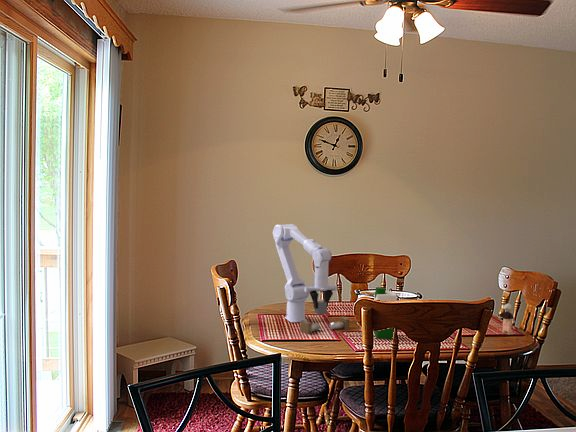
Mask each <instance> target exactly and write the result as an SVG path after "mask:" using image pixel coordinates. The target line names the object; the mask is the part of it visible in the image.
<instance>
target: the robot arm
mask: <svg viewBox="0 0 576 432" xmlns="http://www.w3.org/2000/svg"><path fill="white" fill-rule="evenodd" d="M272 237H273V240H274V241H275V248H276V251H277V254H278V256H279V257H278V258H279V259H280V263H281V266H282V269H283V271H284V275H285V279H286V281H287V282H286V283H285V285H284V293H285V299H286V300H287V302H286V316H284V318H285V319H286V320H287V321H289V322H290V323H300V321H307V322H309V321H308V319H307V318H305V317H306V316H305V313H306V310H305V309H306V307H305V306H306V301H307V298H309V295H310V297H311V300H312V305H313V308H314V310H315V309H317V301H319V300H318V299H319V293H318V292H323V299H324V301H326V302H327V308H328V307H329V303H330V300H331V298H332V296H333V294H334V293H333V291H334V292H338V286H337V285H329V262H330V261H331V259H332V251H331V249H329V247H323V246H322V245H320V244H319V243H318V242H316V240H315V239H314V238H307V236H306V235H304V234H303V233H302V231H300V230H299V227H298V226H296V224H294V223H290V224H289V223H288V224H286V223H285V224H275V225H274V227H273V230H272ZM293 240H294V241H296V242H298V243H299V244H301V245H302V246H303V250H304V251H306V252H307V253H308V254H309V255H310V256H311V257H312V260H313V265H314V285H313V286H307V285H306V283H305V280H303V279H301V278H300V277H299V274H298V272H297V271H298V270H297V268H296V265H295V262H294V259H293V256H292V253H291V250H290V247H289V246H290V244H291V243H292V242H293Z"/></svg>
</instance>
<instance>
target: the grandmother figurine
mask: <svg viewBox="0 0 576 432" xmlns="http://www.w3.org/2000/svg"><path fill="white" fill-rule="evenodd" d="M502 309H503V310H504V311H502V312H501V313H499V315H498V320H501V319H502V318H503V320H502V331H501V333H502V334H506V335H513V334H514V333H513V331H512V324H515V323H516V322H515V316H514V315H513V314H512V312H511V310H512V305H511V304H510V303H505V304H504V305H503V307H502Z"/></svg>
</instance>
